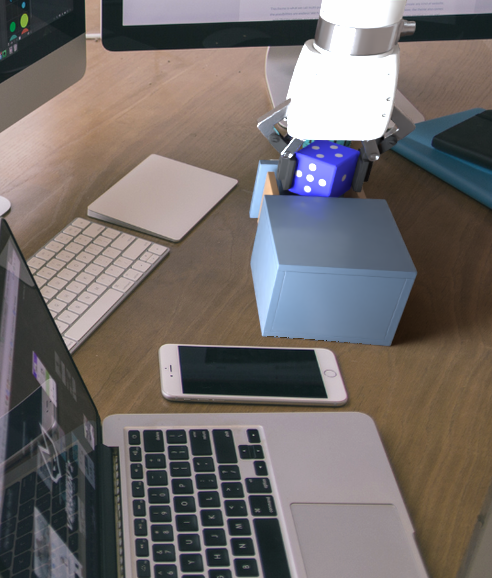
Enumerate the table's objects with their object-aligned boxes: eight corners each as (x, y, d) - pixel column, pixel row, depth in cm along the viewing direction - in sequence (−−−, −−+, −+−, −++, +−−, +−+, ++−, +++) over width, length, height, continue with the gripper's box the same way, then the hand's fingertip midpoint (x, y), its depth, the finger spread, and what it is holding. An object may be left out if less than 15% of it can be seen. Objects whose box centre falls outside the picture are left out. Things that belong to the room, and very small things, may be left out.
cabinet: (250, 262, 94) (264, 194, 88) (363, 269, 91) (385, 199, 85) (261, 336, 83) (278, 264, 77) (390, 346, 81) (417, 272, 75)
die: (326, 206, 88) (336, 167, 85) (286, 190, 91) (294, 152, 88) (350, 189, 90) (361, 150, 87) (310, 174, 93) (319, 137, 90)
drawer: (245, 193, 104) (255, 141, 100) (337, 197, 102) (351, 143, 97) (258, 269, 91) (270, 213, 86) (364, 276, 89) (382, 218, 84)
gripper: (440, 19, 80) (394, 171, 91) (261, 22, 84) (237, 167, 95) (462, 46, 74) (410, 205, 85) (269, 47, 78) (243, 199, 89)
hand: (319, 184), depth 90 cm, fingers closed on die, 6 cm apart
